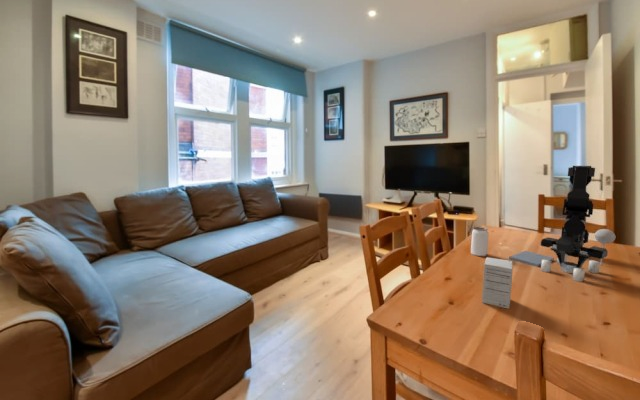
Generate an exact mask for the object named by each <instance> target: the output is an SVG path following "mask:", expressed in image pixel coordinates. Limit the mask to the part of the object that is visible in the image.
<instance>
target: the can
mask: <svg viewBox="0 0 640 400" xmlns="http://www.w3.org/2000/svg"><path fill="white" fill-rule="evenodd" d="M488 242H489V231H488V228H486V227H481V226H479V227H477V226H475V227H473V229H472V231H471V243H470V244H471V245H470V246H471V247H470V253H471V255H473V256H476V257H485V256H487V255H488V244H489V243H488Z"/></svg>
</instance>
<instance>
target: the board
mask: <svg viewBox="0 0 640 400" xmlns="http://www.w3.org/2000/svg"><path fill="white" fill-rule="evenodd" d="M508 259H509V260H510V261H515V262H519V263H523V264H526V265H529V266H533V267H541V263H542V260H550V261H551V262H552V261H553V262H554V260H555V258H554V257H553V256H552V257H551V256H549V255H543V254H539V253H535V252H531V251H527V250H524V251H522V252H519V253H516V254H513V255H511V256H508Z"/></svg>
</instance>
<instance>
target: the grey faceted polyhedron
mask: <svg viewBox="0 0 640 400" xmlns="http://www.w3.org/2000/svg"><path fill="white" fill-rule="evenodd" d="M574 268H577V263H575V262H573V261H572V262H571V261H567V262H565V261H564V262H562V263H561V266H560V271H561V272H563V273H567V274H572V275H573V271H574Z"/></svg>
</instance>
